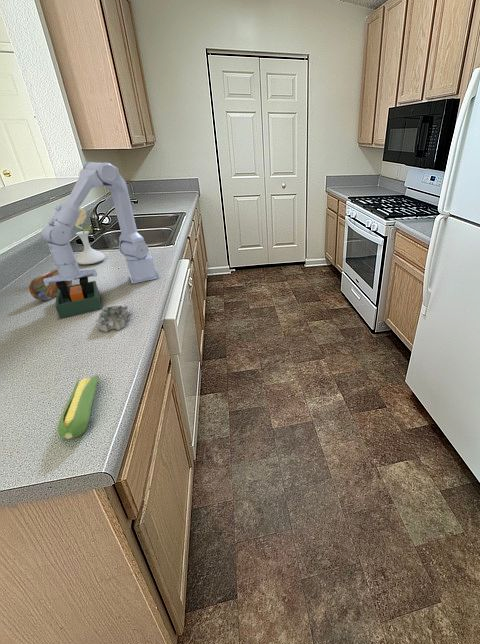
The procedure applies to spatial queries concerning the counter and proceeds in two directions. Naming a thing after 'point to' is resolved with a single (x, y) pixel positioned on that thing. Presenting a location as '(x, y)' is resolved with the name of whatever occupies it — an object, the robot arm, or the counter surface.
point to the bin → (78, 302)
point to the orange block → (76, 293)
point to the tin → (40, 289)
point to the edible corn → (78, 409)
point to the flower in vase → (86, 243)
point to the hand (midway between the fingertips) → (79, 299)
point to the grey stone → (112, 318)
